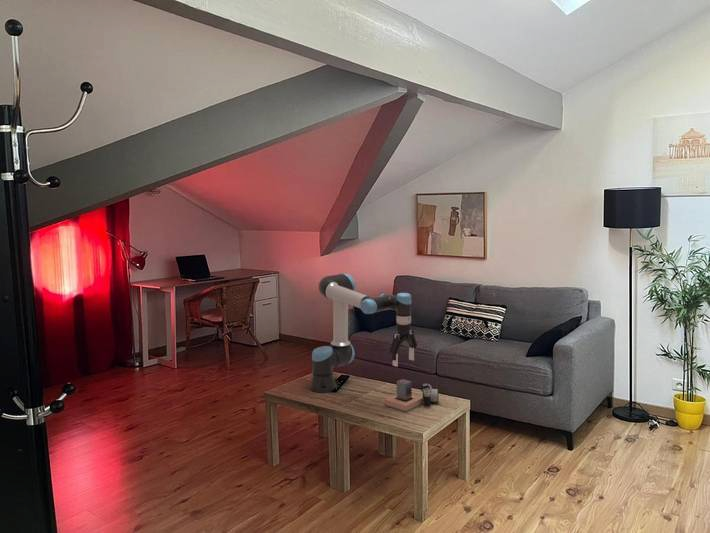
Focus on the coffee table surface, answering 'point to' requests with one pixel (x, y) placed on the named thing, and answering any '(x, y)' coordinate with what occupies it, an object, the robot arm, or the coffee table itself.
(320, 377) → the robot arm
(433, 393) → the camera
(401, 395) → the grey wood-topped pillar
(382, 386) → the coffee table surface
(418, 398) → the pink square frame
